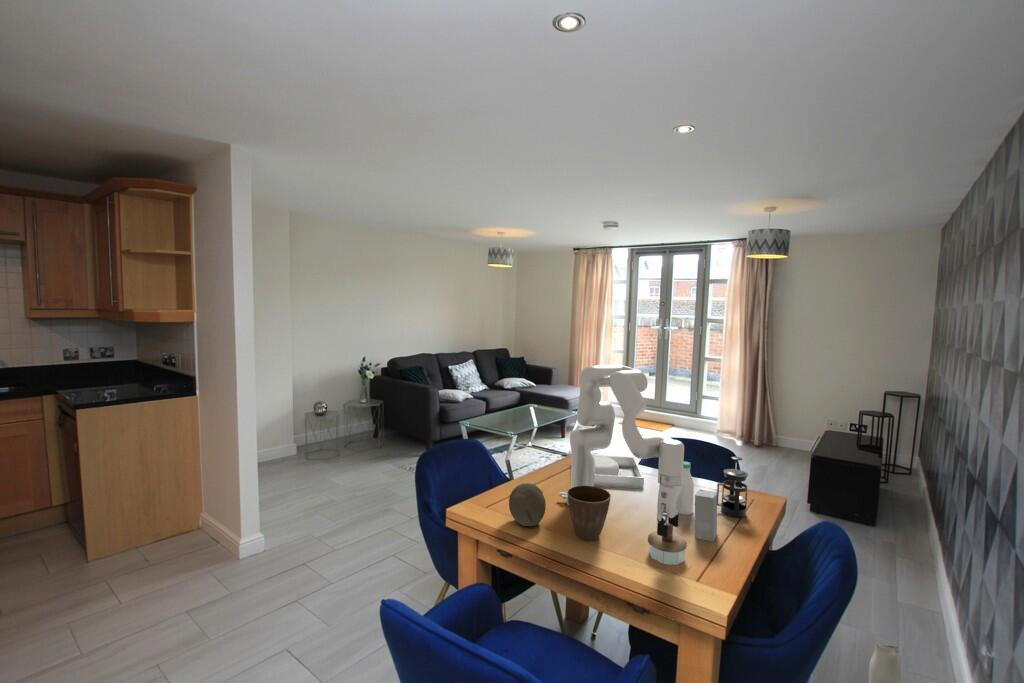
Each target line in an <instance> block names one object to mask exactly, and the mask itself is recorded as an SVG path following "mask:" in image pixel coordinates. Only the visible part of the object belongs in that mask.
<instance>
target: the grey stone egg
mask: <svg viewBox="0 0 1024 683" xmlns="http://www.w3.org/2000/svg"><path fill="white" fill-rule="evenodd" d="M508 507H509V512H510V514H511V516H512V518H513V519H514V520H515V521H516V522H517V523H518V524H519V525H521V526H522V527H525V526H529V527H534V526H537V525H539V524H540V523H541V521H542V520H543V518H544V516H545V513H546V507H547V504H546V498H545V496H544V494H543V491H542V489H541V488H539V486H537V485H536V484H534V483H528V482H525V483H520V484H518V485H516V486H515V487H514V488H513V490H512V491H511V493H510V495H509V498H508Z"/></svg>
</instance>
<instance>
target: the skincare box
mask: <svg viewBox="0 0 1024 683" xmlns="http://www.w3.org/2000/svg"><path fill="white" fill-rule="evenodd" d="M717 533H718V506H717V491H712V490H705V489H701V488H700V489H698V491H696V494H695V495H694V538H695V539H698V540H704V541H707V542H711V543H714V542H715V539H716V537H717Z"/></svg>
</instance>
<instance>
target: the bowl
mask: <svg viewBox="0 0 1024 683" xmlns="http://www.w3.org/2000/svg"><path fill="white" fill-rule="evenodd" d="M648 544H649V543H648ZM648 554H649V555H650V558H651V559H653V560H655V561H657V562H658V563H661V564H662V563H663V565H672V564H673V565H677V566H678V565H679V564H682V563H683V562H685V559H686V558H685V557H686V549H685V550H684V551H681V552H666V551H662V550H659V549H656V548H654V547H653V546H651V545H650V544H649V548H648Z"/></svg>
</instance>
